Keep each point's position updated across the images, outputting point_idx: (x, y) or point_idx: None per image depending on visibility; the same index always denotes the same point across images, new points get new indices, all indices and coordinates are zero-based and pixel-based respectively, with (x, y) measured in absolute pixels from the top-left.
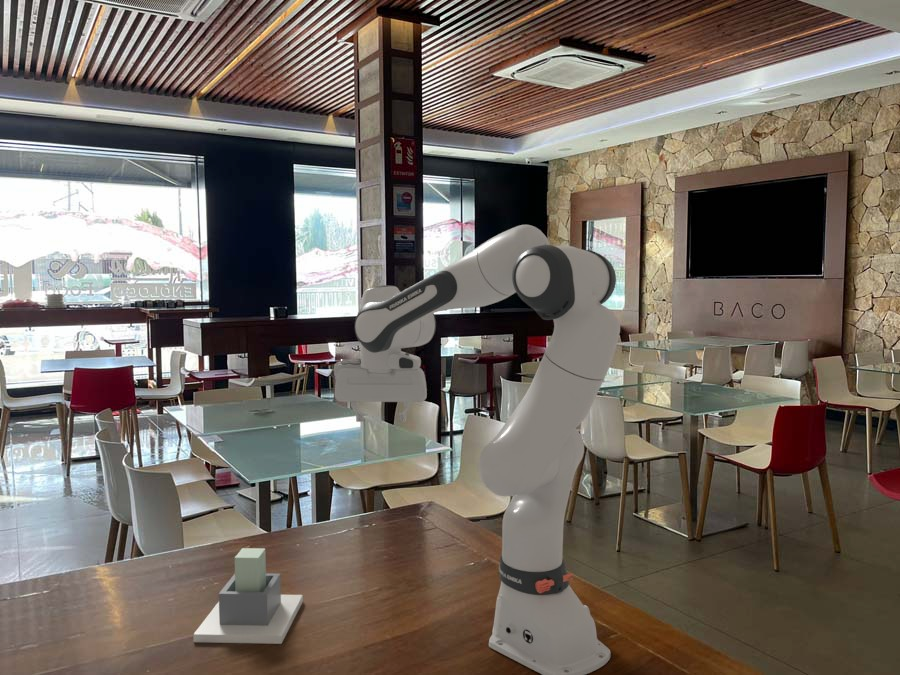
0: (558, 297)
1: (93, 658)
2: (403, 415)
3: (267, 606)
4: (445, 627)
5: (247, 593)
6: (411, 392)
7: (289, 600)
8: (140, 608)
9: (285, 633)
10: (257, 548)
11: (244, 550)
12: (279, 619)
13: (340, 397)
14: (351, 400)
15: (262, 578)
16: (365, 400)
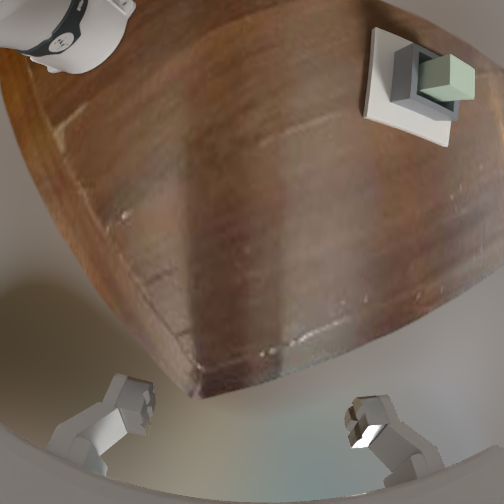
0: None
1: (499, 75)
2: (114, 400)
3: (405, 47)
4: (175, 35)
5: (434, 54)
6: (1, 487)
7: (380, 105)
8: (496, 154)
9: (372, 42)
10: (458, 88)
11: (470, 89)
12: (384, 61)
13: (500, 460)
14: (455, 469)
15: (428, 73)
16: (382, 495)
